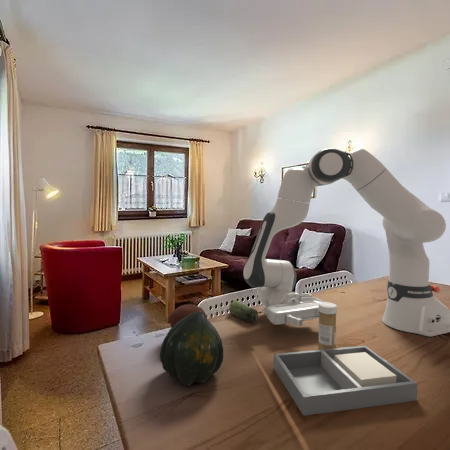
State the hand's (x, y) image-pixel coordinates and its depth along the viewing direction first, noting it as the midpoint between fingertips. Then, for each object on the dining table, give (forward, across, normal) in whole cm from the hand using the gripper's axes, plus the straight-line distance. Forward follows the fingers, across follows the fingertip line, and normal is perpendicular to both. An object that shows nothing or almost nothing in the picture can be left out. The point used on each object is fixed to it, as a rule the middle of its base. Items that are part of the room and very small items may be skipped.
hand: (314, 320), depth 83 cm
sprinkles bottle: (+5, 0, +7) cm, 9 cm away
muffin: (-16, -33, +7) cm, 37 cm away
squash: (+2, -36, +7) cm, 37 cm away
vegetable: (-25, -11, +7) cm, 28 cm away
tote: (+18, -7, +7) cm, 21 cm away
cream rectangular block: (+19, -2, +6) cm, 20 cm away
